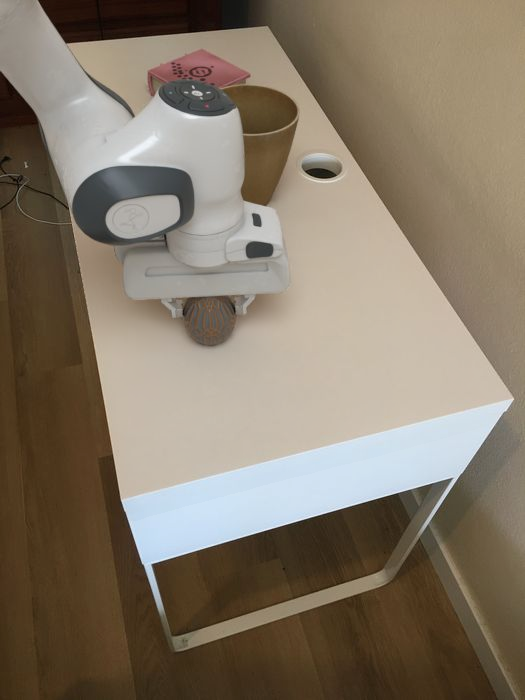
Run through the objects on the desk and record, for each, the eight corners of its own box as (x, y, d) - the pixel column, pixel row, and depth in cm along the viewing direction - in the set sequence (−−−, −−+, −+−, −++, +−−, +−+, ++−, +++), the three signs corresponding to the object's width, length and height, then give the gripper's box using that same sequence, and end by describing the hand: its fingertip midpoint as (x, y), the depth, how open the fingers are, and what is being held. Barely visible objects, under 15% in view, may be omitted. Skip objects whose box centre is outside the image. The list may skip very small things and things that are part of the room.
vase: (239, 349, 77) (240, 304, 70) (188, 356, 76) (183, 311, 69) (231, 311, 81) (230, 266, 74) (182, 317, 80) (177, 272, 73)
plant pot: (308, 208, 96) (319, 119, 84) (230, 236, 91) (229, 145, 78) (263, 162, 104) (267, 74, 91) (189, 185, 99) (182, 96, 86)
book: (200, 70, 124) (199, 47, 120) (250, 97, 118) (250, 73, 114) (148, 93, 117) (144, 68, 113) (197, 123, 111) (196, 98, 107)
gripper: (108, 252, 61) (128, 335, 72) (297, 245, 63) (288, 326, 74) (112, 215, 65) (130, 298, 76) (290, 209, 67) (282, 291, 78)
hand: (209, 312), depth 75 cm, fingers closed on vase, 7 cm apart
